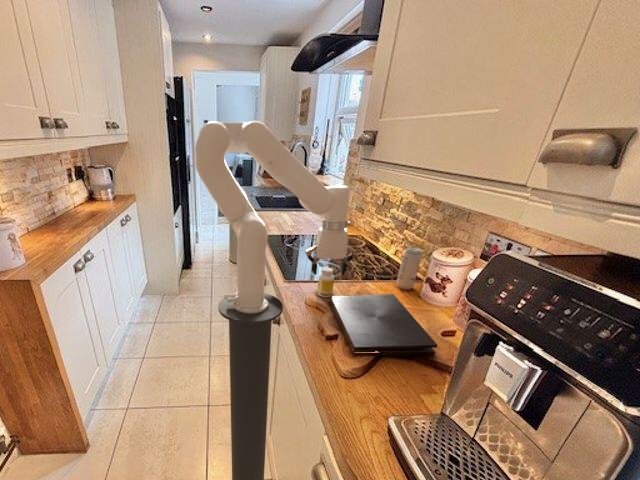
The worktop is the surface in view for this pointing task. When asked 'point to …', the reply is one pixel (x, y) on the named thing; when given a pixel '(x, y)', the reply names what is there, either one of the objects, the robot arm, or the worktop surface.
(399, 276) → the energy drink can
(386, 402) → the worktop surface
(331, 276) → the supplement bottle
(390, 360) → the worktop surface
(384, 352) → the laptop
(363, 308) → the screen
